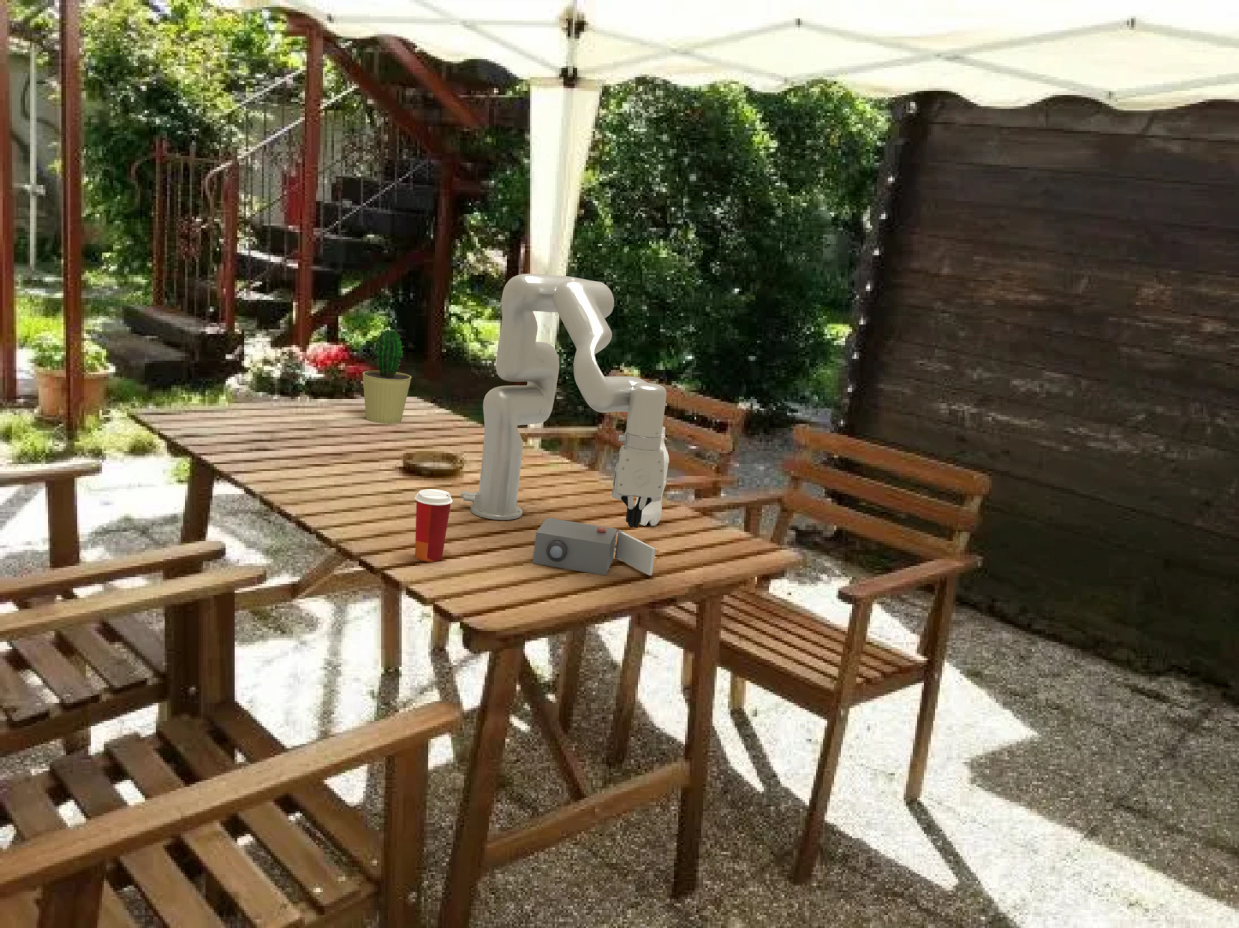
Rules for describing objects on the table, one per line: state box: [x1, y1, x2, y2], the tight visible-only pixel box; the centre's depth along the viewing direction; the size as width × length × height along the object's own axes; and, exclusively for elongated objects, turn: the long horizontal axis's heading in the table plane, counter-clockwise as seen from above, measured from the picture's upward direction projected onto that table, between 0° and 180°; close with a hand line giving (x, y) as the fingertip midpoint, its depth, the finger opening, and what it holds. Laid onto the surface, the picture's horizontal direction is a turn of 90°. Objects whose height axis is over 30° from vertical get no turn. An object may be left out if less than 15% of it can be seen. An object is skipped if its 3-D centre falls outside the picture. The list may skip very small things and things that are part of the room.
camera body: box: [532, 517, 618, 576], centre depth 233 cm, size 16×13×8 cm
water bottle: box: [634, 426, 670, 527], centre depth 267 cm, size 7×7×25 cm
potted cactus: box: [362, 328, 413, 424], centre depth 343 cm, size 15×15×30 cm
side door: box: [614, 529, 658, 576], centre depth 234 cm, size 2×12×6 cm, turn 38°
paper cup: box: [414, 488, 453, 563], centre depth 223 cm, size 8×8×14 cm
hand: (632, 525), depth 228 cm, fingers closed
